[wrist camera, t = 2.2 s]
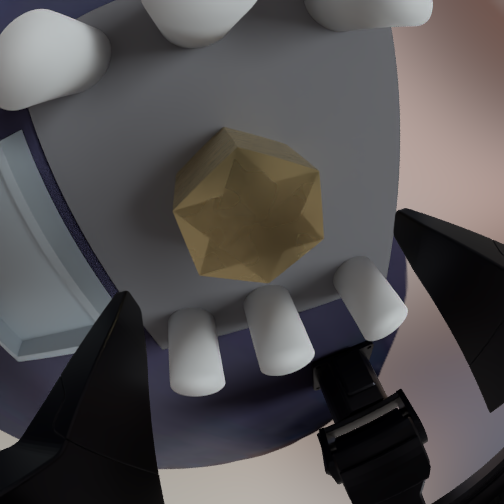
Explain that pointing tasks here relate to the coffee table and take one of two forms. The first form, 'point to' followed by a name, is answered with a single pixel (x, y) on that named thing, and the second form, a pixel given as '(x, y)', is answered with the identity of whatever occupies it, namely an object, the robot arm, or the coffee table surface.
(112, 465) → the robot arm
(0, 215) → the nut tray
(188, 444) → the coffee table surface
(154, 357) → the coffee table surface
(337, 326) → the coffee table surface
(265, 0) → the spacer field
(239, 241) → the tan faceted polyhedron
